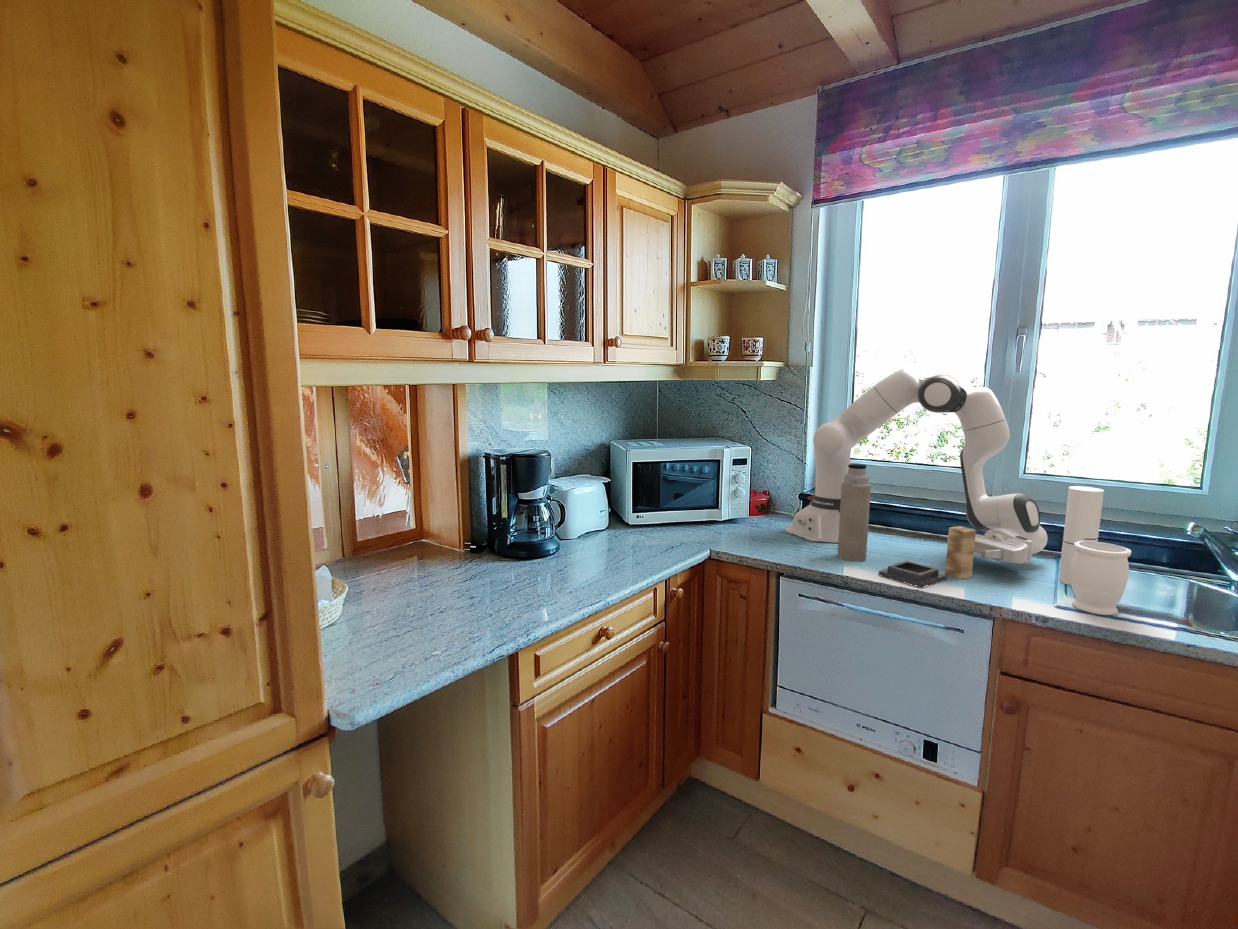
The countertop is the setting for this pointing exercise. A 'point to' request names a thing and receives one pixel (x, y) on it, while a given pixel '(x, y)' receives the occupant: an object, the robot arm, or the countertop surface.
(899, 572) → the dark rectangular socket base
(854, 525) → the thermos bottle
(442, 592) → the countertop surface
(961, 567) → the oak wick peg
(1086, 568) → the jar
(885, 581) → the countertop surface
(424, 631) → the countertop surface
